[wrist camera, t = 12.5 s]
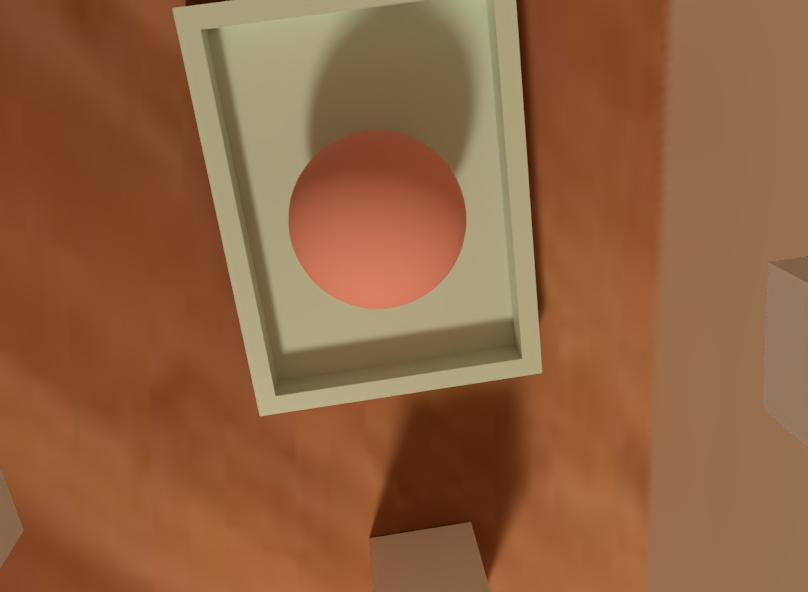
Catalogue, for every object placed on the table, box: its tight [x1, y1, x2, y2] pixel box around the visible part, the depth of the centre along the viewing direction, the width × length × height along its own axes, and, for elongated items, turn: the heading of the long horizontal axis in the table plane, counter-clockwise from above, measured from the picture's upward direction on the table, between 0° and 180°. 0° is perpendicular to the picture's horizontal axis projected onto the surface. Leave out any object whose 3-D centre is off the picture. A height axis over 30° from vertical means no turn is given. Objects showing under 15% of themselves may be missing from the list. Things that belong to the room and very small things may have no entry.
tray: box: [172, 0, 542, 416], centre depth 30 cm, size 16×12×2 cm
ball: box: [289, 130, 466, 309], centre depth 27 cm, size 6×6×6 cm
